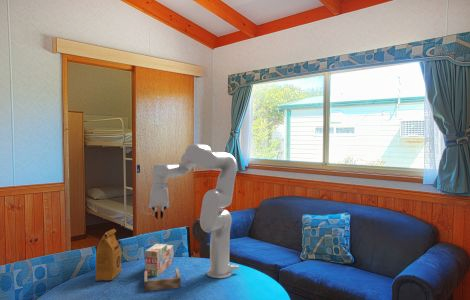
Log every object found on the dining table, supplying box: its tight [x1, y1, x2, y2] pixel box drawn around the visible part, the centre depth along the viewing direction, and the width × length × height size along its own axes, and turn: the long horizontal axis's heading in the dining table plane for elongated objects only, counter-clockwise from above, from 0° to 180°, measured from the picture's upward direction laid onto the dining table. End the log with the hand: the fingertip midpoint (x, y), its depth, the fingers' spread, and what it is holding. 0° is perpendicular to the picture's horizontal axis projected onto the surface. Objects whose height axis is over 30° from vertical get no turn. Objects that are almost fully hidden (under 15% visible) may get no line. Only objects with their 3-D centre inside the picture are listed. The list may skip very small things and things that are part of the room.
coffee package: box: [95, 228, 122, 282], centre depth 159 cm, size 10×12×22 cm
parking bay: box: [143, 268, 182, 292], centre depth 152 cm, size 15×13×4 cm
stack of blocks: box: [144, 243, 175, 277], centre depth 171 cm, size 21×6×12 cm, turn 169°
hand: (159, 218), depth 188 cm, fingers closed
